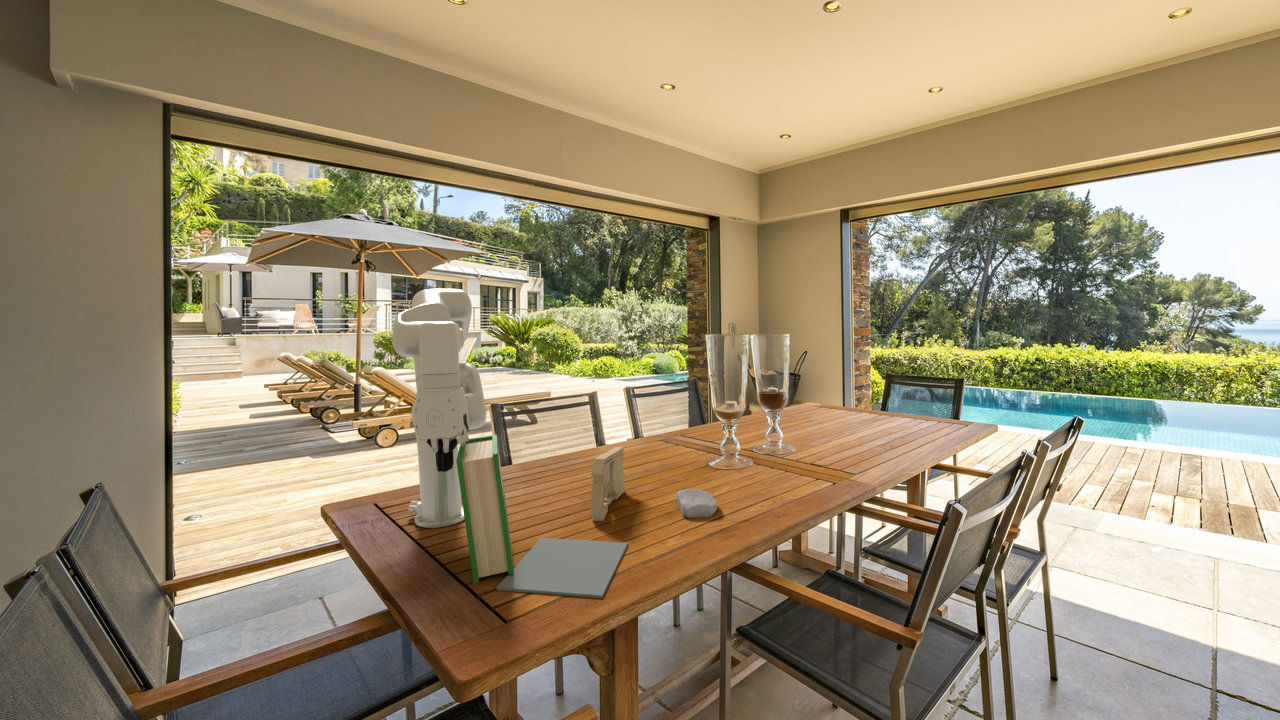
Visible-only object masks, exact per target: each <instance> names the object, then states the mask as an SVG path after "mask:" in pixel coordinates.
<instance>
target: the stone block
mask: <svg viewBox="0 0 1280 720" xmlns="http://www.w3.org/2000/svg"><path fill="white" fill-rule="evenodd" d="M676 503H677V506H678V508H679V510H680V512H681V514H682V516H683V517H684V518H686V519H691V518H693V519H695V518H701V517H703V518H704V517H705V518H709V517H712V516H713V515H714V514H715V513H716V511H717V509H718V501H717V499H715V498H714V496H713V495H712V494H711V493H709V492H708V491H706V490H703V489H696V488H685V489H680V490H678V491H677V492H676Z"/></svg>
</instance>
